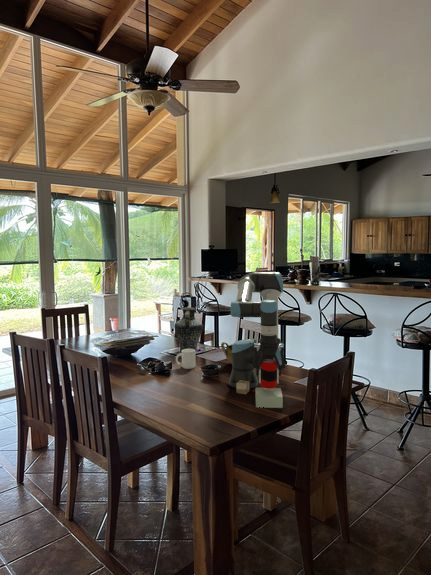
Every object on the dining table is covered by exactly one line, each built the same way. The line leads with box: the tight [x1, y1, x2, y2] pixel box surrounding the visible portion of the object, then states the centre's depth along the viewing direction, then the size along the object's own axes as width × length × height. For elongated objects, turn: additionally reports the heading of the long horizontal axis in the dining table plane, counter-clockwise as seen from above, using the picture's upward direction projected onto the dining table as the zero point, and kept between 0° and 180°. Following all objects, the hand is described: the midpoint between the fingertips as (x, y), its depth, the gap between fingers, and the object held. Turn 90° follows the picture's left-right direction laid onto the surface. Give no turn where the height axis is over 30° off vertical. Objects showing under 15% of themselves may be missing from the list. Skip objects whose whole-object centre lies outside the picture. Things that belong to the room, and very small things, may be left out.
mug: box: [175, 349, 196, 370], centre depth 255 cm, size 12×8×10 cm
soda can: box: [260, 359, 278, 389], centre depth 197 cm, size 8×8×12 cm
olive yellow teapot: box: [220, 338, 257, 365], centre depth 260 cm, size 22×17×15 cm
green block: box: [255, 387, 284, 409], centre depth 199 cm, size 12×12×5 cm
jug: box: [174, 306, 204, 352], centre depth 291 cm, size 21×19×30 cm
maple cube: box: [235, 380, 250, 395], centre depth 213 cm, size 5×5×5 cm
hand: (268, 382), depth 198 cm, fingers closed on soda can, 7 cm apart
